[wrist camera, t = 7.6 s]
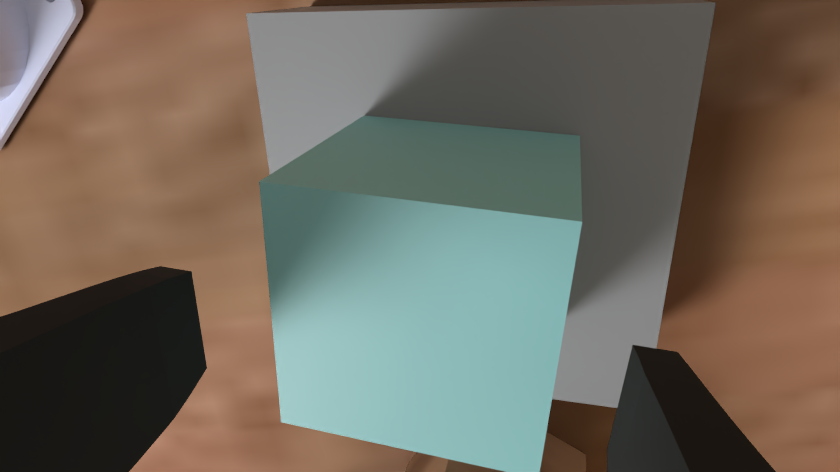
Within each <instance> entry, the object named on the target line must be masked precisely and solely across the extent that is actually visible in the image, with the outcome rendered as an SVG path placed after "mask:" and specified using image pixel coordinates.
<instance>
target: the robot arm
mask: <svg viewBox="0 0 840 472" xmlns="http://www.w3.org/2000/svg"><path fill="white" fill-rule="evenodd" d="M82 16H83V5H82V3H81V0H0V150H1V149H2V147H3V145H4V144H5V142H6V141H7V139H8V137H9V136H10V134H11V132H12V131H13V129H14V128H15V126H16V124H17V123H18V121H19V119H20V118H21V116H22V115H23V113H24V111H25V110H26V108H27V106H28V105H29V103H30V102H31V100H32V98H33V97H34V95H35V93H36V92H37V90H38V88H39V87H40V85H41V84H42V82H43V80H44V79H45V77H46V75H47V74H48V72H49V71H50V69H51V67H52V66H53V64H54V62H55V61H56V59H57V58H58V56H59V54H60V53H61V51H62V49H63V48H64V46H65V45H66V43H67V41H68V40H69V38H70V36H71V35H72V33H73V31H74V30H75V28H76V27H77V25H78V23H79V22H80V20H81V18H82ZM206 368H207V366H206V360H205V354H204V347H203V341H202V335H201V329H200V322H199V316H198V310H197V304H196V297H195V291H194V285H193V279H192V272H191V271H185V270H179V269H173V268H167V267H161V266H160V267H155V268H151V269H147V270H143V271H139V272H135V273H132V274H128V275H125V276H122V277H119V278H115V279H112V280H109V281H106V282H103V283H100V284H97V285H94V286H91V287H88V288H85V289H82V290H79V291H76V292H73V293H70V294H67V295H64V296H61V297H58V298H55V299H52V300H49V301H46V302H44V303H41V304H38V305H35V306H32V307H29V308H26V309H23V310H20V311H17V312H14V313H11V314H8V315H5V316H2V317H0V472H129V471H130V470H131V469H132V468H133V466H134V465H135V464H136V463H137V462H138V461H139V459H140V458H141V457H142V456H143V455H144V454H145V452H146V451H147V450H148V449H149V448H150V447H151V445H152V444H153V443H154V442H155V441H156V439H157V438H158V437H159V436H160V435H161V434H162V432H163V431H164V430H165V429H166V428H167V426H168V425H169V424H170V423H171V422H172V420H173V419H174V418H175V416H176V415H177V413H178V412H179V410H180V409H181V408H182V406H183V405H184V403H185V402H186V400H187V399H188V397H189V396H190V394H191V393H192V391H193V389H194V388H195V386H196V385H197V383H198V381H199V380H200V378H201V377H202V375H203V373H204V372H205V370H206ZM607 472H775V470H774V469H773V468H772V467H771V466H770V465H769V463H768V462H767V461H766V460H765V459H764V458H763V457H762V455H761V454H760V453H759V452H758V451H757V449H756V448H755V447H754V446H753V445H752V444H751V442H750V441H749V440H748V439H747V438H746V436H745V435H744V434H743V433H742V432H741V430H740V429H739V428H738V427H737V426H736V424H735V423H734V422H733V421H732V420H731V418H730V417H729V416H728V415H727V413H726V412H725V411H724V410H723V408H722V407H721V406H720V405H719V403H718V402H717V401H716V400H715V398H714V397H713V396H712V395H711V393H710V392H709V391H708V390H707V388H706V387H705V386H704V385H703V383H702V382H701V381H700V379H699V378H698V377H697V376H696V374H695V373H694V372H693V371H692V369H691V368H690V367H689V366H688V364H687V363H686V362H685V361H684V359H683V358H682V357H681V356H680V354H679V353H678V352H674V351H668V350H662V349H656V348H650V347H644V346H638V345H632V350H631V354H630V358H629V362H628V366H627V370H626V374H625V378H624V383H623V387H622V391H621V395H620V399H619V403H618V407H617V411H616V415H615V420H614V424H613V428H612V432H611V436H610V440H609V444H608V448H607Z"/></svg>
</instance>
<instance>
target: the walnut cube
mask: <svg viewBox="0 0 840 472" xmlns="http://www.w3.org/2000/svg"><path fill="white" fill-rule="evenodd" d="M406 472H504V471H500V470H495V469H491V468H486V467H482V466H477V465H473V464H468V463H464V462H459V461H455V460H450V459H446V458H441V457H437V456H432V455H428V454H423V453H419V452H417V453H416V454H415V455H414V457H413V458H412V459H411V461H410V462H409V464H408V467H407V469H406ZM540 472H586V454H584V453H582V452H581V451H579V450H577V449H575V448H574V447H572V446H570V445H569V444H567V443H565V442H563V441H562V440H560V439H558V438H557V437H555V436H553V435H551V434H550V433H548V432H546V438H545V444H544V449H543V455H542V461H541V467H540Z"/></svg>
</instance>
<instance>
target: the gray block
mask: <svg viewBox="0 0 840 472" xmlns="http://www.w3.org/2000/svg"><path fill="white" fill-rule="evenodd" d="M715 5H716V3H715V2H709V1H703V0H545V1H505V2H466V3H426V4H386V5H347V6H310V7H301V8H291V9H282V10H273V11H264V12H254V13H246V15H247V22H248V29H249V36H250V42H251V49H252V56H253V63H254V69H255V76H256V83H257V90H258V97H259V103H260V110H261V117H262V124H263V130H264V137H265V144H266V151H267V157H268V164H269V171H270V174H272V173H274V172H275V171H277V170H278V169H280V168H281V167H283V166H285V165H286V164H288V163H289V162H291V161H293V160H294V159H296V158H297V157H299V156H300V155H302V154H304V153H305V152H307V151H308V150H310V149H312V148H313V147H315V146H316V145H318V144H320V143H321V142H323V141H324V140H326V139H327V138H329V137H331V136H332V135H334V134H335V133H337V132H339V131H340V130H342V129H343V128H345V127H347V126H348V125H350V124H351V123H353V122H354V121H356V120H358V119H359V118H361V117H362V116H375V117H386V118H397V119H407V120H418V121H429V122H439V123H450V124H461V125H472V126H482V127H493V128H504V129H514V130H525V131H536V132H546V133H557V134H568V135H579V136H580V156H581V194H582V226H581V232H580V238H579V244H578V250H577V256H576V261H575V267H574V273H573V279H572V285H571V291H570V297H569V303H568V308H567V314H566V320H565V326H564V332H563V338H562V344H561V350H560V355H559V361H558V367H557V373H556V379H555V385H554V391H553V397H552V399H555V400H562V401H569V402H577V403H584V404H591V405H599V406H606V407H613V408H617V407H618V403H619V399H620V395H621V391H622V387H623V383H624V378H625V374H626V370H627V366H628V362H629V358H630V354H631V350H632V345H638V346H644V347H650V348H657V342H658V336H659V330H660V324H661V319H662V313H663V307H664V301H665V295H666V290H667V284H668V278H669V272H670V266H671V260H672V255H673V249H674V243H675V237H676V231H677V226H678V220H679V214H680V208H681V202H682V197H683V191H684V185H685V179H686V173H687V168H688V162H689V156H690V150H691V144H692V139H693V133H694V127H695V121H696V115H697V110H698V104H699V98H700V92H701V86H702V81H703V75H704V69H705V63H706V57H707V52H708V46H709V40H710V34H711V28H712V22H713V17H714V11H715Z"/></svg>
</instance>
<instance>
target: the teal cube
mask: <svg viewBox="0 0 840 472" xmlns="http://www.w3.org/2000/svg"><path fill="white" fill-rule="evenodd" d="M259 184H260V195H261V206H262V217H263V228H264V239H265V250H266V261H267V272H268V283H269V294H270V305H271V316H272V327H273V337H274V348H275V359H276V370H277V381H278V392H279V403H280V414H281V422H283V423H288V424H292V425H297V426H301V427H306V428H310V429H315V430H319V431H324V432H328V433H333V434H337V435H342V436H346V437H351V438H355V439H360V440H364V441H369V442H373V443H378V444H382V445H387V446H392V447H396V448H401V449H405V450H410V451H414V452H419V453H423V454H428V455H432V456H437V457H441V458H446V459H450V460H455V461H459V462H464V463H468V464H473V465H477V466H482V467H486V468H491V469H495V470H500V471H504V472H540V467H541V461H542V455H543V449H544V444H545V438H546V432H547V426H548V420H549V414H550V408H551V402H552V397H553V391H554V385H555V379H556V373H557V367H558V361H559V355H560V350H561V344H562V338H563V332H564V326H565V320H566V314H567V308H568V303H569V297H570V291H571V285H572V279H573V273H574V267H575V261H576V256H577V250H578V244H579V238H580V232H581V226H582V194H581V156H580V136H579V135H568V134H557V133H546V132H536V131H525V130H514V129H504V128H493V127H482V126H472V125H461V124H450V123H439V122H429V121H418V120H407V119H397V118H386V117H375V116H362V117H361V118H359V119H358V120H356V121H354V122H353V123H351V124H350V125H348V126H347V127H345V128H343V129H342V130H340V131H339V132H337V133H335V134H334V135H332V136H331V137H329V138H327V139H326V140H324V141H323V142H321V143H320V144H318V145H316V146H315V147H313V148H312V149H310V150H308V151H307V152H305V153H304V154H302V155H300V156H299V157H297V158H296V159H294V160H293V161H291V162H289V163H288V164H286V165H285V166H283V167H281V168H280V169H278V170H277V171H275V172H274V173H272V174H270V175H269V176H267V177H266V178H264V179H262V180H261V181H259Z"/></svg>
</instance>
